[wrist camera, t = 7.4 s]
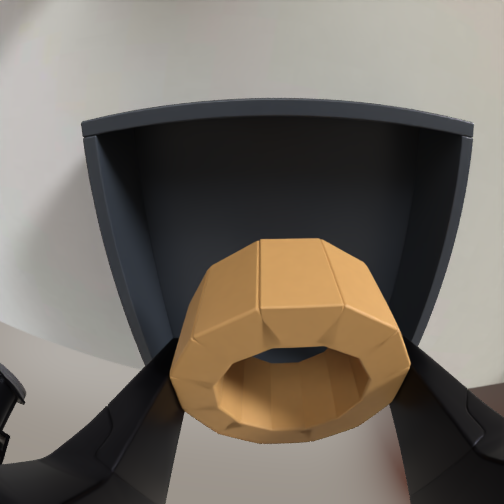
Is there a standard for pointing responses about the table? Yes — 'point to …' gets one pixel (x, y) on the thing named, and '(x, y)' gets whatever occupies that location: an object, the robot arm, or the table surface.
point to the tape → (287, 344)
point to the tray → (274, 198)
